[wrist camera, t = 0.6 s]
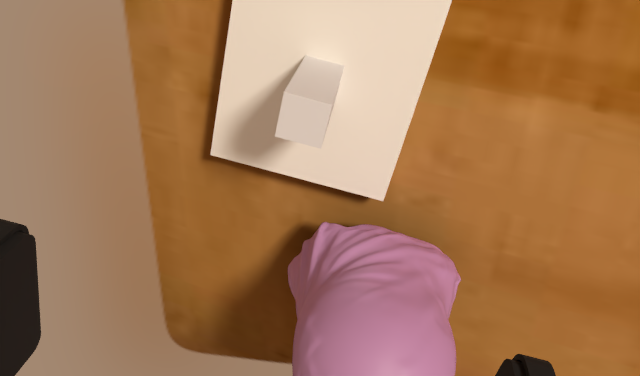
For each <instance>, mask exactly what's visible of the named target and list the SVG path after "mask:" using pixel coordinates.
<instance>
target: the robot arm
mask: <svg viewBox="0 0 640 376" xmlns="http://www.w3.org/2000/svg"><path fill="white" fill-rule="evenodd" d="M36 259H37V258H36V242H35V238H34V236H33V235H29V232H28V229H27V227H26V226H24V225H21V224H18V223H14V222H10V221H6V220H2V219H0V376H15V375H16V373H17V372H18V371H19V370H20V368H21V367H22V366H23V365H24V363H25V362H26V361H27V360H28V358H29V357H30V356H31V355H32V353H33V352H34V350H35V349H36V347H37V345H38V343H39V340H40V336H41V330H40V329H41V327H40V312H39V311H40V310H39V293H38V276H37V260H36ZM495 376H556V375H555V372H554V369H553V367H552V365H551V364H550V363H549V362H548V361H545V360H541V359H537V358H533V357H529V356H526V355H522V354H517V355H516V356H515V357H514V358H513V359H512V360H510V359H506V360H504V362H503V363H502V365H501V366H500V368H499V370H498V372H497V374H496V375H495Z"/></svg>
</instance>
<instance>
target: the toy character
mask: <svg viewBox="0 0 640 376" xmlns="http://www.w3.org/2000/svg"><path fill="white" fill-rule="evenodd" d="M460 281H461V278H460V275H459V274H458V272H457V269H456V268H455V265H454V263H453V261H452V260H451V259H450V258H449V257H448V256H446V255H445V254H444V253H443V252H442V251H441V250H440V249H439V248H438V247H436V246H434V245H432V244H430V243H428V242H425V241H421V240H418V239H416V238H412V237H409V236H406V235H404V234H402V233H398V232H394V231H391V230H389V229H386V228H383V227H379V226H374V225H367V224H363V225H357V226H353V227H344V226H341V225H339V224H334V223H327V222H323V223H322V224H321V225H320V226H319V228H318V230H317V231H316V232H315V233H314V235H313V236H312V238H311V239H308V240H305V241H304V243H303V246H302V251H301V252H300V254H299V255H297V256H296V257H294V259H293V260H292V261H291V263H290V264H289V266H288V282H289V286H290V289H291V292H292V294H293V296H294V298H295V300H296V313H297V319H298V321H297V324H296V329H295V335H294V342H293V358H292V366H293V376H454V375H455V368H456V348H455V342H454V338H453V334H452V330H451V327H450V324H449V321H448V318H449V316H450V313H451V309H452V304H453V302H454V300H455V296H456V291H457V286H458V284H459V282H460Z"/></svg>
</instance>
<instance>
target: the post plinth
mask: <svg viewBox="0 0 640 376" xmlns="http://www.w3.org/2000/svg"><path fill="white" fill-rule="evenodd" d="M451 2H452V0H233V1H232V8H231V15H230V22H229V29H228V36H227V43H226V50H225V56H224V63H223V70H222V77H221V84H220V91H219V98H218V105H217V112H216V119H215V126H214V133H213V140H212V147H211V154H210V155H212V156H216V157H220V158H224V159H227V160H231V161H235V162H239V163H242V164H246V165H250V166H253V167H257V168H261V169H265V170H268V171H272V172H276V173H280V174H283V175H287V176H291V177H295V178H298V179H302V180H306V181H309V182H313V183H317V184H321V185H324V186H328V187H332V188H336V189H339V190H343V191H347V192H351V193H354V194H358V195H362V196H365V197H369V198H373V199H377V200H380V201H383V200H384V197H385V194H386V191H387V188H388V186H389V183H390V180H391V177H392V174H393V171H394V168H395V165H396V162H397V159H398V156H399V153H400V151H401V148H402V145H403V142H404V139H405V136H406V133H407V130H408V127H409V124H410V121H411V119H412V116H413V113H414V110H415V107H416V104H417V101H418V98H419V95H420V92H421V89H422V86H423V84H424V81H425V78H426V75H427V72H428V69H429V66H430V63H431V60H432V57H433V54H434V51H435V49H436V46H437V43H438V40H439V37H440V34H441V31H442V28H443V25H444V22H445V19H446V17H447V14H448V11H449V8H450V5H451Z"/></svg>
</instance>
